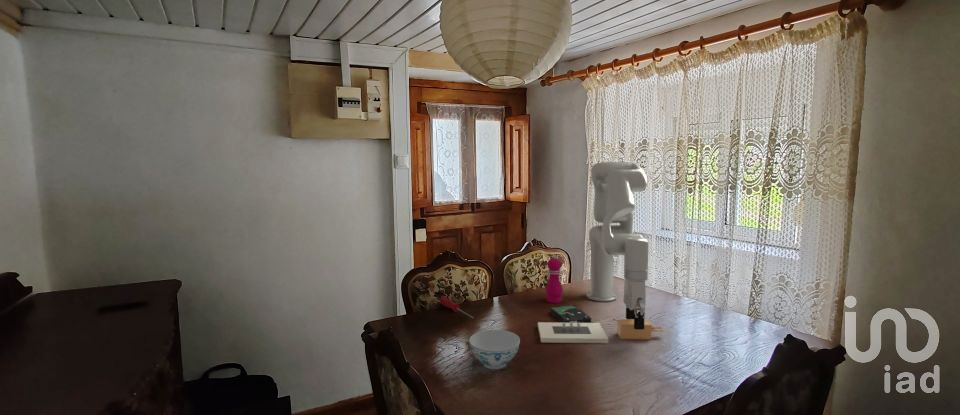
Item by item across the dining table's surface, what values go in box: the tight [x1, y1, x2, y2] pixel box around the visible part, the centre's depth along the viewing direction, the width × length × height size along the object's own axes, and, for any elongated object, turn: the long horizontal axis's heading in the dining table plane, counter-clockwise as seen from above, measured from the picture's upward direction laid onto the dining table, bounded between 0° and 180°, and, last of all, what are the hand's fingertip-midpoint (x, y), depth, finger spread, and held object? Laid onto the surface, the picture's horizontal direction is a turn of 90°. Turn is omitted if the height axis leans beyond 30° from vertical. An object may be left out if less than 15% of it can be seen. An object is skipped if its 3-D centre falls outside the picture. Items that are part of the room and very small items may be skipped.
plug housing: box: [616, 318, 664, 340], centre depth 152 cm, size 5×14×5 cm, turn 87°
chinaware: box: [468, 329, 521, 370], centre depth 133 cm, size 15×15×8 cm
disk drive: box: [550, 304, 592, 323], centre depth 170 cm, size 10×3×15 cm
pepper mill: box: [545, 254, 564, 304], centre depth 189 cm, size 7×7×20 cm
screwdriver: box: [439, 296, 475, 319], centre depth 177 cm, size 4×25×4 cm, turn 32°
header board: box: [537, 321, 609, 344], centre depth 155 cm, size 14×22×4 cm, turn 87°
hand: (634, 323), depth 152 cm, fingers open, 9 cm apart
